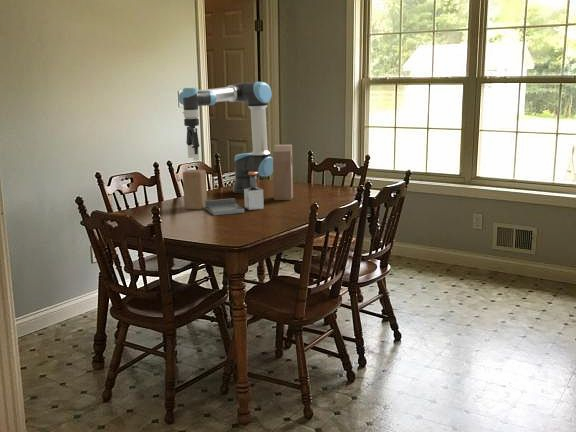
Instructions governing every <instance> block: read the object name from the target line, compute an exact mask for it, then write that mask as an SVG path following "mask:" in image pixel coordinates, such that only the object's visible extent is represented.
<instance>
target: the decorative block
mask: <svg viewBox="0 0 576 432" xmlns="http://www.w3.org/2000/svg"><path fill="white" fill-rule="evenodd" d="M272 153H273V155H272V158H273V172H272V175H273V177H272V178H273V200H274V201H292V200H293V197H294V183H293V182H294V181H293V179H294V178H293V173H294V172H293V144H274V145H273V152H272Z"/></svg>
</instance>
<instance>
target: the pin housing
mask: <svg viewBox="0 0 576 432" xmlns="http://www.w3.org/2000/svg"><path fill="white" fill-rule="evenodd" d="M243 195H244V196H243V198H244V209H247V210H248V211H253V210H263V209H264V208H265V205H264V203H265V202H264V200H265V199H264V189H263V188H261V187H259V186H258V188H256V190H251V188H246V189H244V193H243Z"/></svg>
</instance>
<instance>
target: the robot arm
mask: <svg viewBox="0 0 576 432" xmlns="http://www.w3.org/2000/svg"><path fill="white" fill-rule="evenodd" d="M272 94H273V93H272V89H271V87H270V86H269V84H268V83H267V82H264V81H247V82H246V81H244V82H240V83H236V84H235V83H234V84H229V85H227V86H225V87H217V88H208V89H207V88H206V89H198V88H197V87H184V88H183V89H182V91H181V92H180V93H179V95H178V103H180V105H182V106H183V112H182V114H183V117H184V119H183V121H184V126H185V127H186V142H185V143H186V145H187V158H188V159H189V158H190V159H191V158H192V161H195V162H196V161H200V152H199V147H200V142H199V135H198V128H197V127H198V126H200V120H199V107H200V106H201V107H204V106H205V107H206V106H208V107H209V106H214V105H215V104H216V103H218V102H219V103H220V102H230V103H236V102H238V103H244V104H245V103H247V107H248V108H249V110H250V121H251V122H250V123H251V142H252V151H251V152H246V153H239V154H236V155H235V156H234V162H233V163H234V177H235V179H234V182H233V183H234V184H233V186H232V192H233V193H234V194H244V189H246V188H251V183H250V175H249V174H248V172H258V174H257V175H256V177H257V176H258V177H270V176H271V175H273V156H271V152H270V151H269V150H268V149H269V147H268V133H267V130H268V129H267V118H266V117H267V115H266V114H267V113H266V112H267V111H266V109H267V107H268V106H269V102H271V100H272V97H273V95H272ZM258 187H259V186H258V184H257V183H256V188H258Z"/></svg>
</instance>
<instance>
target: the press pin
mask: <svg viewBox="0 0 576 432" xmlns="http://www.w3.org/2000/svg"><path fill="white" fill-rule="evenodd" d="M248 174H249V175H250V183H251V190H256V184H257V176H256V175H257V174H258V172H248Z"/></svg>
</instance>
